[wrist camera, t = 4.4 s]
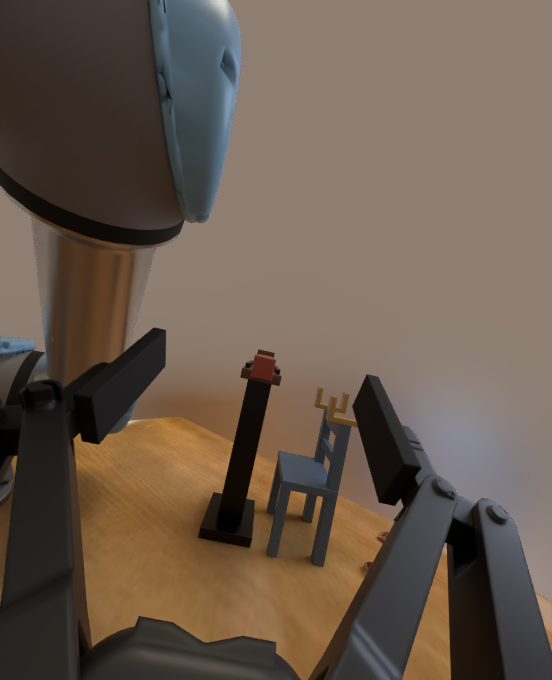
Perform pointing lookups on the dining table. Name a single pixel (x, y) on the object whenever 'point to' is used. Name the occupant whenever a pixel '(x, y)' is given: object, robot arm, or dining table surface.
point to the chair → (312, 478)
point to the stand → (240, 468)
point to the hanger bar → (263, 365)
